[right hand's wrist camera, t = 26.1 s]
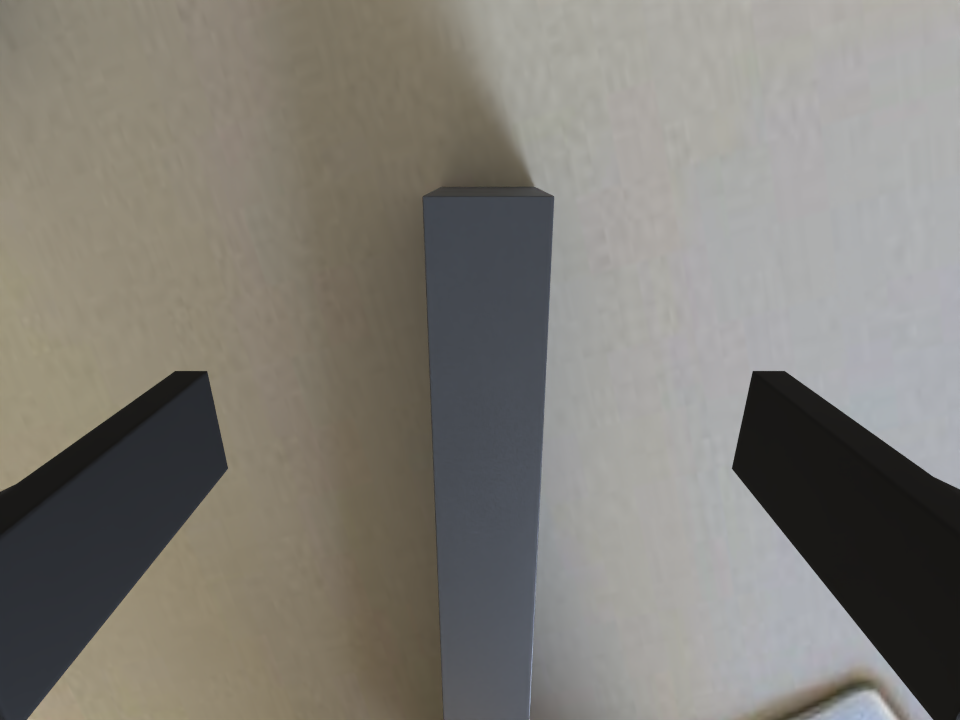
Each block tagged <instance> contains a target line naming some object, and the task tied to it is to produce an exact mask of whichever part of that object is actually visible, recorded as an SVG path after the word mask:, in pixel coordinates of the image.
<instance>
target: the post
mask: <svg viewBox="0 0 960 720" xmlns="http://www.w3.org/2000/svg"><path fill="white" fill-rule="evenodd" d="M553 210H554V196H552V195H550V194H548V193H546V192H544V191H542V190H540V189H538V188H536V187H440V188H438V189H436V190H434V191H432V192H430V193H429V194H427V195H425V196H423V219H424V244H425V269H426V294H427V319H428V344H429V369H430V394H431V419H432V444H433V468H434V493H435V518H436V543H437V568H438V593H439V618H440V643H441V668H442V693H443V718H444V720H529V719H530V698H531V677H532V656H533V634H534V613H535V592H536V571H537V550H538V528H539V507H540V486H541V465H542V443H543V422H544V401H545V380H546V359H547V337H548V316H549V295H550V274H551V253H552V231H553Z"/></svg>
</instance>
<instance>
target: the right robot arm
mask: <svg viewBox="0 0 960 720" xmlns="http://www.w3.org/2000/svg"><path fill="white" fill-rule="evenodd" d="M227 469H228V466H227V462H226V457H225V452H224V447H223V443H222V438H221V433H220V429H219V424H218V419H217V415H216V410H215V405H214V401H213V396H212V391H211V387H210V382H209V377H208V373H207V371H175V372H173V373H172V374H171V375H169V376H168V377H166V378H165V379H164V380H162V381H161V382H159V383H158V384H157V385H155V386H154V387H152V388H151V389H150V390H148V391H147V392H145V393H144V394H142V395H141V396H140V397H138V398H137V399H135V400H134V401H133V402H131V403H130V404H128V405H127V406H126V407H124V408H123V409H121V410H120V411H119V412H117V413H116V414H114V415H113V416H112V417H110V418H109V419H107V420H106V421H105V422H103V423H102V424H100V425H99V426H98V427H96V428H95V429H93V430H92V431H90V432H89V433H88V434H86V435H85V436H83V437H82V438H81V439H79V440H78V441H76V442H75V443H74V444H72V445H71V446H69V447H68V448H67V449H65V450H64V451H62V452H61V453H60V454H58V455H57V456H55V457H54V458H53V459H51V460H50V461H48V462H47V463H45V464H44V465H43V466H41V467H40V468H38V469H37V470H36V471H34V472H33V473H31V474H30V475H29V476H27V477H26V478H24V479H23V480H22V481H20V482H19V483H17V484H16V485H13V486H11V487H9V488H7V489H5V490H3V491H1V492H0V720H27V719H28V717H29V716H30V715H31V714H32V712H33V711H34V710H35V709H36V707H37V706H38V705H39V704H40V702H41V701H42V700H43V699H44V697H45V696H46V695H47V694H48V692H49V691H50V690H51V689H52V687H53V686H54V685H55V684H56V682H57V681H58V680H59V679H60V677H61V676H62V675H63V674H64V672H65V671H66V670H67V669H68V667H69V666H70V665H71V664H72V662H73V661H74V660H75V659H76V658H77V656H78V655H79V654H80V653H81V651H82V650H83V649H84V648H85V646H86V645H87V644H88V643H89V641H90V640H91V639H92V638H93V636H94V635H95V634H96V633H97V631H98V630H99V629H100V628H101V626H102V625H103V624H104V623H105V621H106V620H107V619H108V618H109V616H110V615H111V614H112V613H113V611H114V610H115V609H116V608H117V606H118V605H119V604H120V603H121V601H122V600H123V599H124V598H125V596H126V595H127V594H128V593H129V591H130V590H131V589H132V588H133V586H134V585H135V584H136V583H137V581H138V580H139V579H140V578H141V576H142V575H143V574H144V573H145V571H146V570H147V569H148V568H149V566H150V565H151V564H152V563H153V562H154V560H155V559H156V558H157V557H158V555H159V554H160V553H161V552H162V550H163V549H164V548H165V547H166V545H167V544H168V543H169V542H170V540H171V539H172V538H173V537H174V535H175V534H176V533H177V532H178V530H179V529H180V528H181V527H182V525H183V524H184V523H185V522H186V520H187V519H188V518H189V517H190V515H191V514H192V513H193V512H194V510H195V509H196V508H197V507H198V505H199V504H200V503H201V502H202V500H203V499H204V498H205V497H206V495H207V494H208V493H209V492H210V490H211V489H212V488H213V487H214V485H215V484H216V483H217V482H218V480H219V479H220V478H221V477H222V475H223V474H224V473H225V472H226V470H227ZM732 469H733V470H734V472H735V473H736V474H737V475H738V477H739V478H740V479H741V480H742V482H743V483H744V484H745V485H746V487H747V488H748V489H749V490H750V492H751V493H752V494H753V495H754V497H755V498H756V499H757V500H758V502H759V503H760V504H761V505H762V507H763V508H764V509H765V510H766V512H767V513H768V514H769V515H770V517H771V518H772V519H773V520H774V522H775V523H776V524H777V525H778V527H779V528H780V529H781V530H782V532H783V533H784V534H785V535H786V537H787V538H788V539H789V540H790V542H791V543H792V544H793V545H794V547H795V548H796V549H797V550H798V552H799V553H800V554H801V555H802V557H803V558H804V559H805V560H806V562H807V563H808V564H809V565H810V566H811V568H812V569H813V570H814V571H815V573H816V574H817V575H818V576H819V578H820V579H821V580H822V581H823V583H824V584H825V585H826V586H827V588H828V589H829V590H830V591H831V593H832V594H833V595H834V596H835V598H836V599H837V600H838V601H839V603H840V604H841V605H842V606H843V608H844V609H845V610H846V611H847V613H848V614H849V615H850V616H851V618H852V619H853V620H854V621H855V623H856V624H857V625H858V626H859V628H860V629H861V630H862V631H863V633H864V634H865V635H866V636H867V638H868V639H869V640H870V641H871V643H872V644H873V645H874V646H875V648H876V649H877V650H878V651H879V653H880V654H881V655H882V656H883V658H884V659H885V660H886V661H887V662H888V664H889V665H890V666H891V667H892V669H893V670H894V671H895V672H896V674H897V675H898V676H899V677H900V679H901V680H902V681H903V682H904V684H905V685H906V686H907V687H908V689H909V690H910V691H911V692H912V694H913V695H914V696H915V697H916V699H917V700H918V701H919V702H920V704H921V705H922V706H923V707H924V709H925V710H926V711H927V712H928V714H929V715H930V716H931V717H932V719H933V720H960V489H958V488H955V487H953V486H951V485H949V484H947V483H945V482H943V481H941V480H939V479H937V478H935V477H933V476H931V475H930V474H929V473H927V472H926V471H924V470H923V469H922V468H920V467H919V466H917V465H916V464H915V463H913V462H912V461H910V460H909V459H907V458H906V457H905V456H903V455H902V454H900V453H899V452H898V451H896V450H895V449H893V448H892V447H891V446H889V445H888V444H886V443H885V442H884V441H882V440H881V439H879V438H878V437H877V436H875V435H874V434H872V433H871V432H870V431H868V430H867V429H865V428H864V427H862V426H861V425H860V424H858V423H857V422H855V421H854V420H853V419H851V418H850V417H848V416H847V415H846V414H844V413H843V412H841V411H840V410H839V409H837V408H836V407H834V406H833V405H832V404H830V403H829V402H827V401H826V400H825V399H823V398H822V397H820V396H819V395H818V394H816V393H815V392H813V391H812V390H810V389H809V388H808V387H806V386H805V385H803V384H802V383H801V382H799V381H798V380H796V379H795V378H794V377H792V376H791V375H789V374H788V373H787V372H785V371H753V373H752V377H751V382H750V387H749V391H748V396H747V401H746V405H745V410H744V415H743V419H742V424H741V429H740V433H739V438H738V443H737V447H736V452H735V457H734V462H733V466H732Z"/></svg>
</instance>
